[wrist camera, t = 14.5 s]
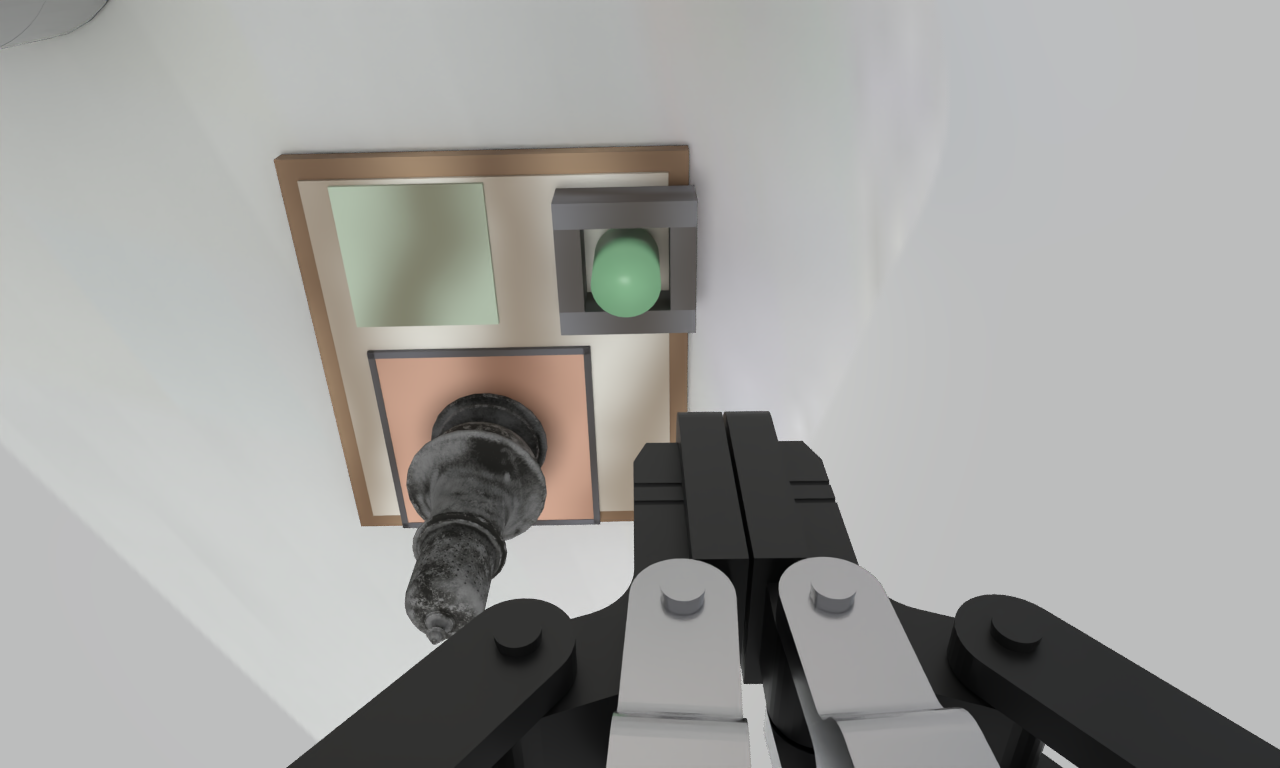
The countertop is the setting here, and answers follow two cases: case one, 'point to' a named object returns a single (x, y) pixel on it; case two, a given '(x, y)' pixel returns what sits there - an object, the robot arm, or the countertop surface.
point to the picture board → (494, 307)
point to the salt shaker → (471, 506)
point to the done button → (626, 272)
